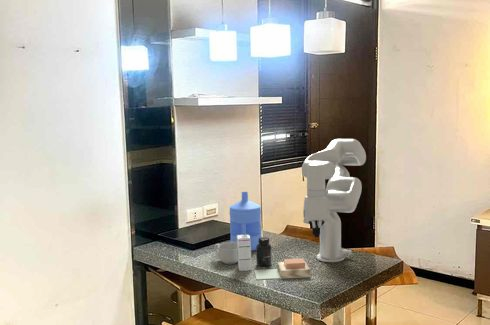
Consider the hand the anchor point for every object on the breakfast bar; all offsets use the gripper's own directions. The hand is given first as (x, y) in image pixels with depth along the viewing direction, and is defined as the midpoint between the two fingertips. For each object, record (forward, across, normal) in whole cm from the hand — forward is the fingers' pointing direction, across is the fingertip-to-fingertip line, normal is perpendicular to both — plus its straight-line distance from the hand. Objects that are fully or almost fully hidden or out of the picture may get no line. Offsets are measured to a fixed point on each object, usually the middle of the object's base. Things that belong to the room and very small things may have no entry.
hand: (316, 236), depth 207 cm
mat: (+16, +15, 0) cm, 21 cm away
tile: (+12, +9, 0) cm, 15 cm away
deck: (+16, +10, 0) cm, 18 cm away
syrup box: (+16, +30, -10) cm, 35 cm away
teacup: (+16, +37, -20) cm, 45 cm away
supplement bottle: (+16, +21, -13) cm, 29 cm away
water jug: (+15, +27, -41) cm, 52 cm away
